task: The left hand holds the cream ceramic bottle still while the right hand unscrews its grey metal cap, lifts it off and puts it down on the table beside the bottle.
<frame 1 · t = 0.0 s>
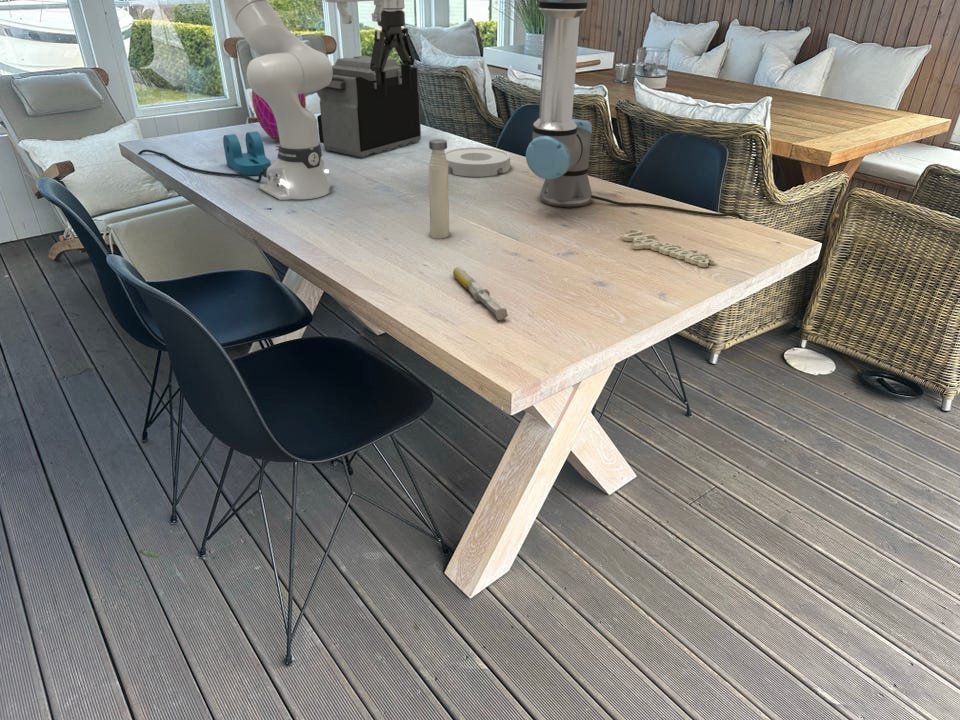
left hand: (362, 22, 166), 48 cm above the table, tool pointing down, fingers open, 8 cm apart
right hand: (394, 93, 197), 28 cm above the table, tool pointing down, fingers open, 13 cm apart
bottle: (439, 235, 177), on the table
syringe: (478, 297, 145), on the table
camera mount: (251, 168, 229), on the table
decorative sign: (663, 250, 169), on the table
decorative egg: (284, 140, 265), on the table
cooler box: (371, 146, 258), on the table
cap: (437, 142, 165), point 23 cm above the table, screwed on, not yet turned
ashtray: (475, 167, 233), on the table
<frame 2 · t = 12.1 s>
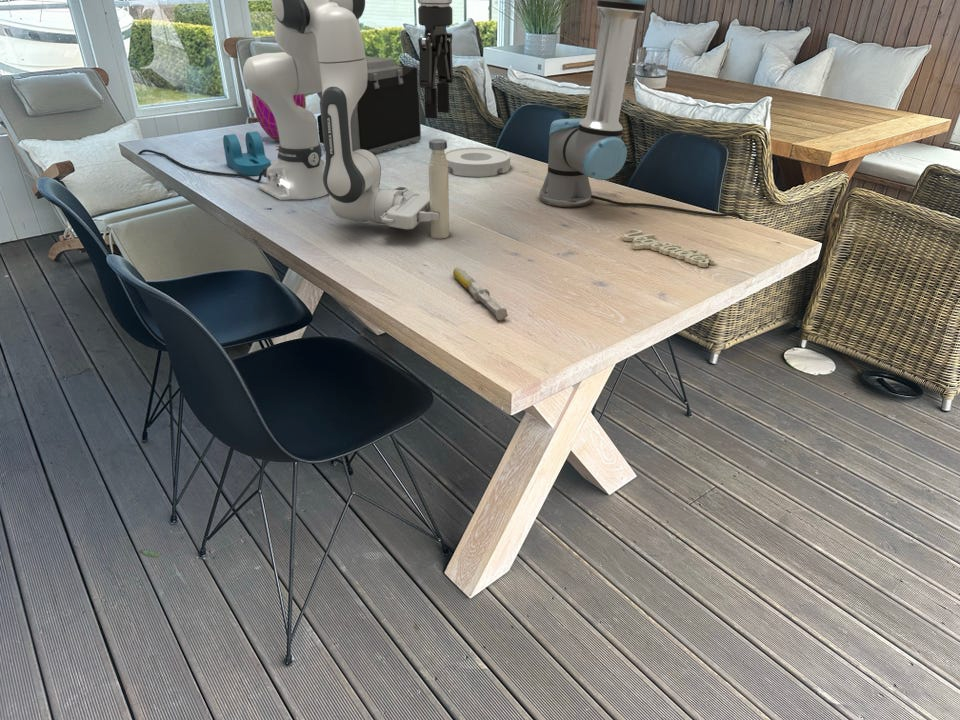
left hand: (442, 212, 174), 6 cm above the table, tool horizontal, fingers closed on bottle, 5 cm apart
right hand: (437, 114, 162), 30 cm above the table, tool pointing down, fingers open, 6 cm apart
bottle: (439, 235, 177), on the table, touching left hand
everything else where it was.
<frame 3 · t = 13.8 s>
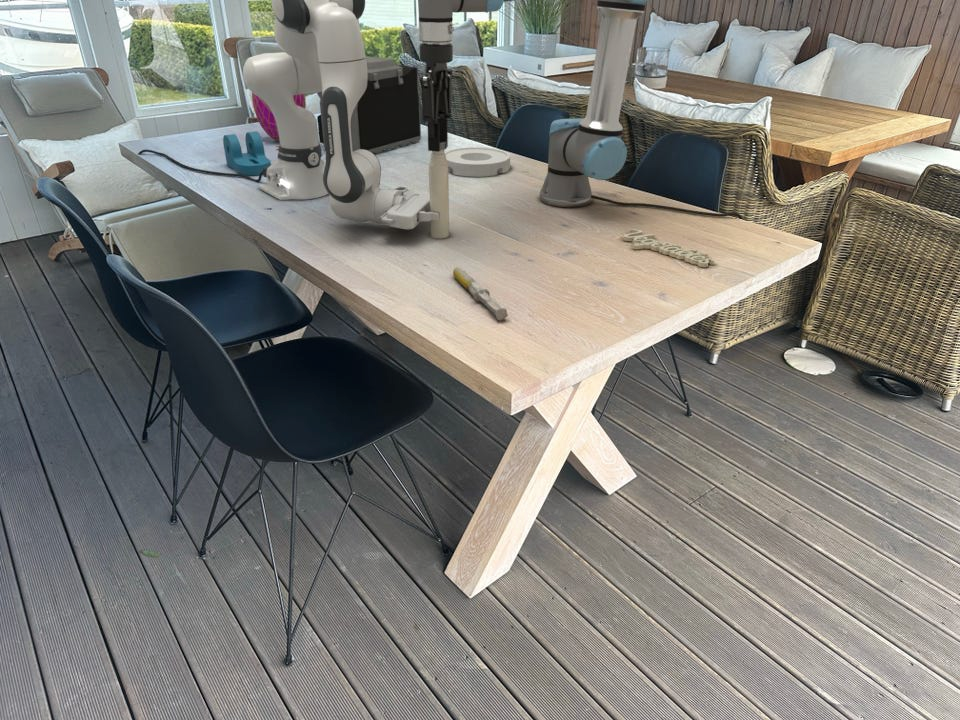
left hand: (442, 212, 174), 6 cm above the table, tool horizontal, fingers closed on bottle, 5 cm apart
right hand: (438, 148, 166), 22 cm above the table, tool pointing down, fingers closed on cap, 4 cm apart
bottle: (439, 235, 177), on the table, touching left hand
cap: (438, 142, 165), point 23 cm above the table, screwed on, not yet turned, touching right hand
everything else where it was.
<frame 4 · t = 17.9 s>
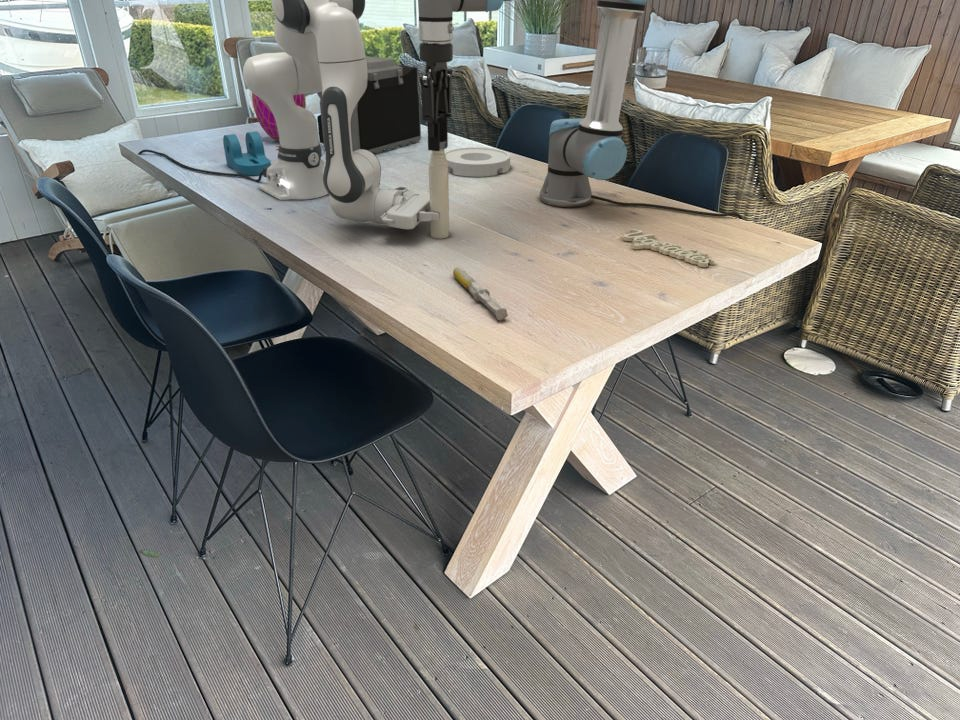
left hand: (442, 212, 174), 6 cm above the table, tool horizontal, fingers closed on bottle, 5 cm apart
right hand: (438, 147, 166), 22 cm above the table, tool pointing down, fingers closed on cap, 4 cm apart
bottle: (439, 235, 177), on the table, touching left hand
cap: (438, 141, 165), point 24 cm above the table, turned 130° so far, risen 0.1 cm, still on its thread, touching right hand
everything else where it was.
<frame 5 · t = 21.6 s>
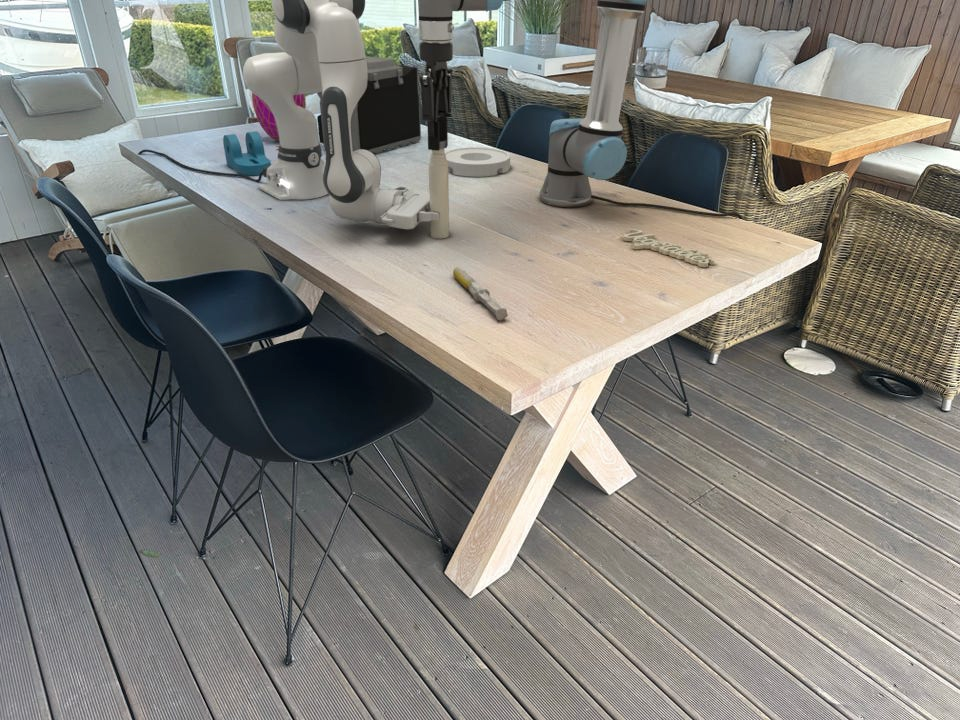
left hand: (442, 212, 174), 6 cm above the table, tool horizontal, fingers closed on bottle, 5 cm apart
right hand: (438, 147, 166), 22 cm above the table, tool pointing down, fingers closed on cap, 4 cm apart
bottle: (439, 235, 177), on the table, touching left hand
cap: (438, 141, 165), point 24 cm above the table, turned 260° so far, risen 0.2 cm, still on its thread, touching right hand
everything else where it was.
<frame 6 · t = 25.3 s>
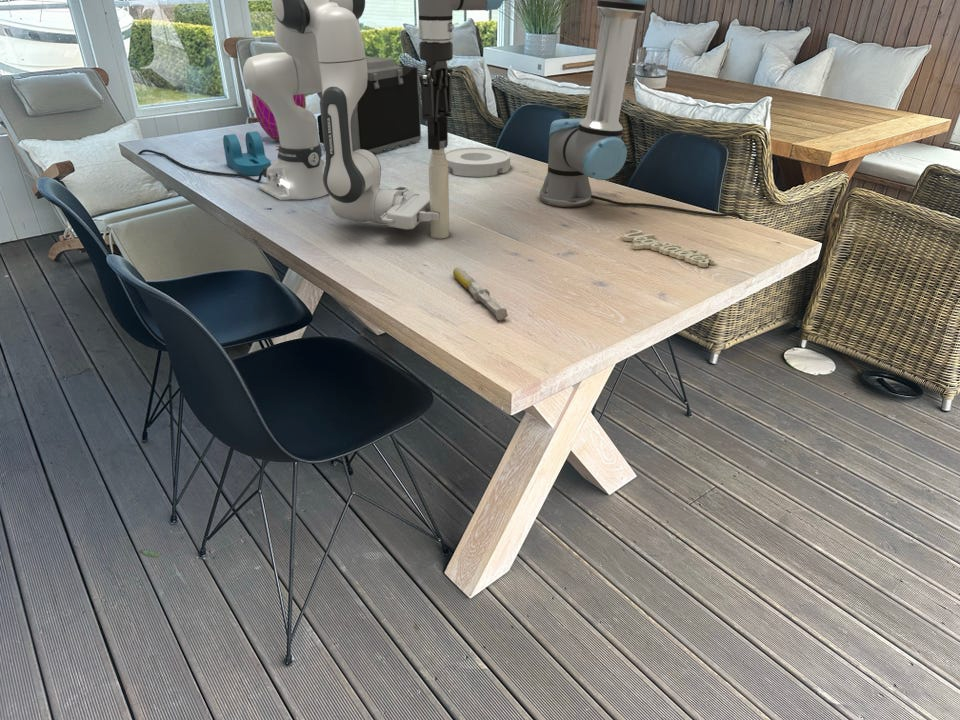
left hand: (442, 212, 174), 6 cm above the table, tool horizontal, fingers closed on bottle, 5 cm apart
right hand: (438, 146, 166), 22 cm above the table, tool pointing down, fingers closed on cap, 4 cm apart
bottle: (439, 235, 177), on the table, touching left hand
cap: (437, 140, 165), point 24 cm above the table, turned 389° so far, risen 0.4 cm, still on its thread, touching right hand
everything else where it was.
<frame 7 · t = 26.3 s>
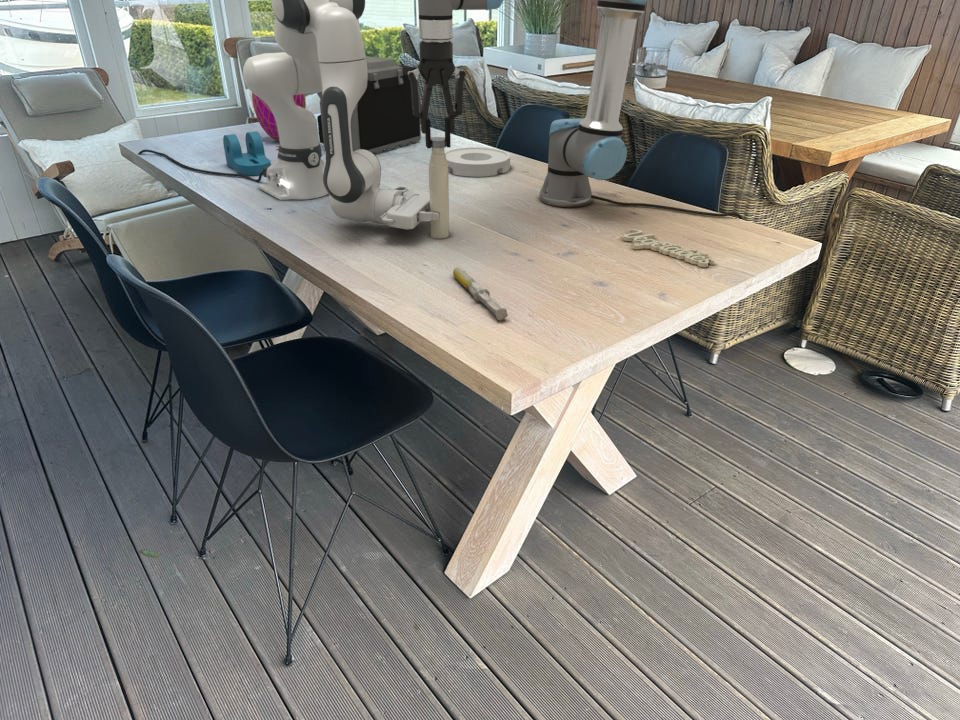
left hand: (442, 212, 174), 6 cm above the table, tool horizontal, fingers closed on bottle, 5 cm apart
right hand: (438, 146, 165), 22 cm above the table, tool pointing down, fingers closed on cap, 4 cm apart
bottle: (439, 235, 177), on the table, touching left hand
cap: (437, 140, 165), point 24 cm above the table, off its thread, touching right hand
everything else where it was.
when the right hand's fingers open (2 cm above the table, at t = 33.1 s): cap drops 2 cm, point 1 cm above the table.
when the left hand's fingers open (6 cm above the table, at t = 34.4 s): bottle stays where it is, on the table.
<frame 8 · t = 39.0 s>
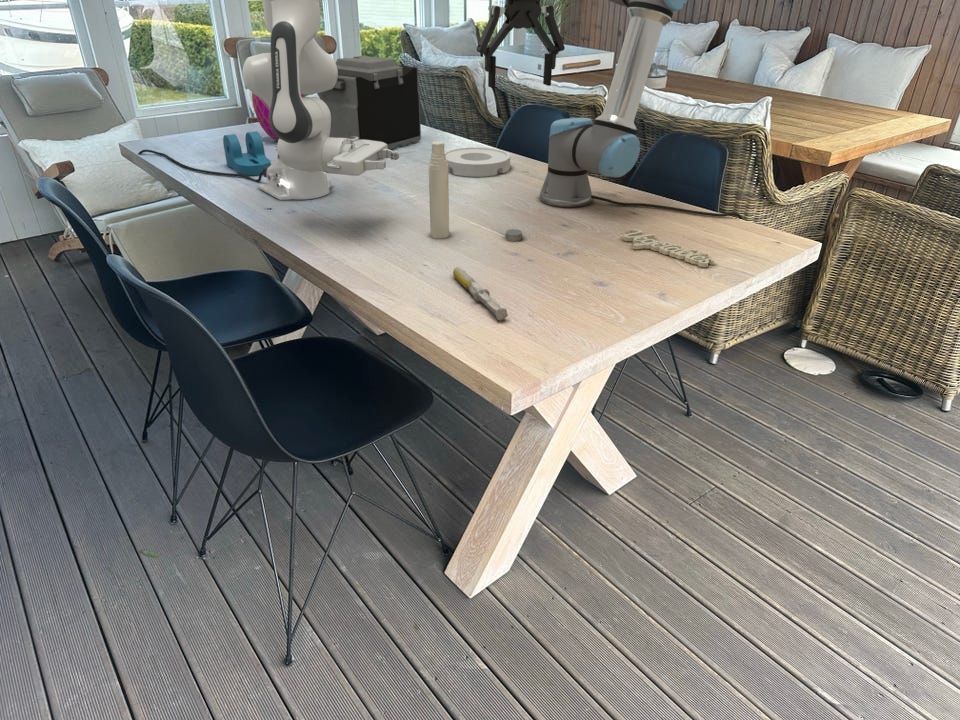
left hand: (391, 160, 170), 18 cm above the table, tool horizontal, fingers open, 8 cm apart
right hand: (519, 86, 157), 37 cm above the table, tool pointing down, fingers open, 13 cm apart
bottle: (439, 235, 177), on the table
cap: (514, 233, 175), point 1 cm above the table, off its thread
everything else where it was.
at the end: cap came off its thread; cap point 1.4 cm above the table; the left hand is holding nothing; the right hand is holding nothing; bottle tilted 0°; bottle moved 0.0 cm from its start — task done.
